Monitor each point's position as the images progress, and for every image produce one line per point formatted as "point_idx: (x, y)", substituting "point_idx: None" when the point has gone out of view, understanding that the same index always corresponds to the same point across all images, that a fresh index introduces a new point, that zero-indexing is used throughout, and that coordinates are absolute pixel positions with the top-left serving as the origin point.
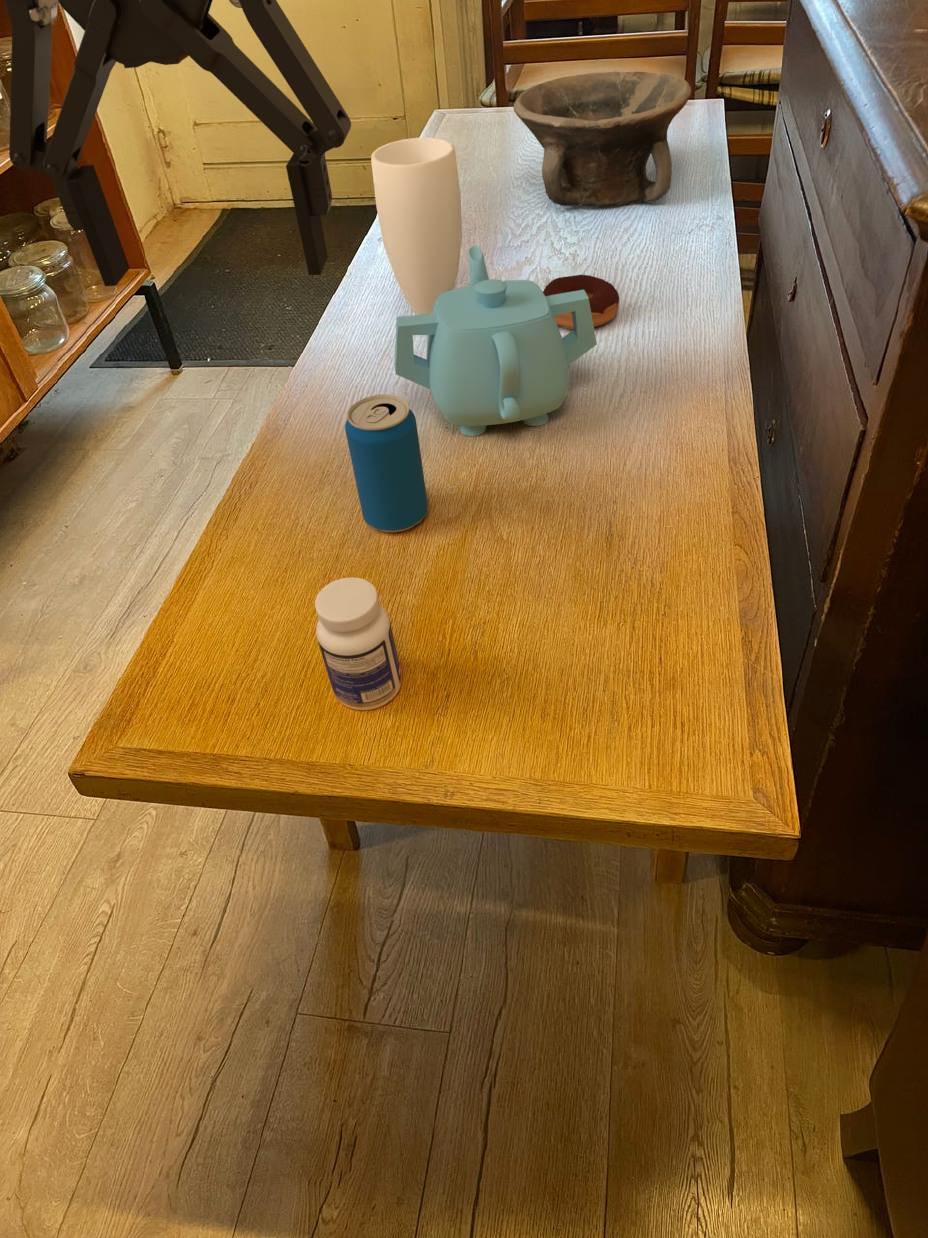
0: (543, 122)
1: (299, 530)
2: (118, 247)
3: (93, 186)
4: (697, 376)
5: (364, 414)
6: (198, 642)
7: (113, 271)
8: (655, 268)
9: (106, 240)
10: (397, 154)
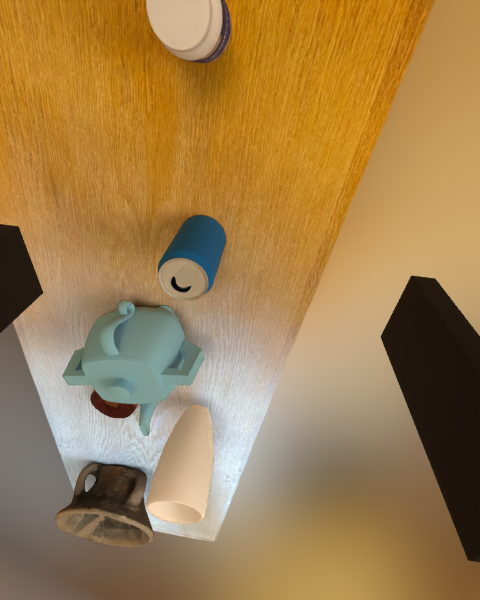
0: (131, 520)
1: (272, 231)
2: (400, 358)
3: (470, 487)
4: (38, 332)
5: (195, 280)
6: (349, 106)
7: (415, 298)
8: (84, 418)
9: (430, 353)
10: (190, 513)
